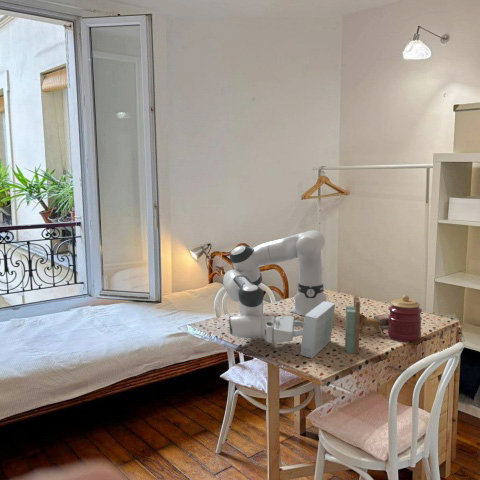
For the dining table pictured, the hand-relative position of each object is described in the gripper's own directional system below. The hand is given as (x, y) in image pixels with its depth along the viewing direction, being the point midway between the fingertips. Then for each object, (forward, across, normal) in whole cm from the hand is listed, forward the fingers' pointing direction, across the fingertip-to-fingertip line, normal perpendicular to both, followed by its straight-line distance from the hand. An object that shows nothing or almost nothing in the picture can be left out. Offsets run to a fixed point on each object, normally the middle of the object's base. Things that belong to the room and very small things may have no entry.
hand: (305, 328), depth 195 cm
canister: (+40, -16, -8) cm, 44 cm away
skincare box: (+4, 0, -8) cm, 9 cm away
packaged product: (+38, -33, -8) cm, 51 cm away
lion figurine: (+25, -19, -8) cm, 33 cm away
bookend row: (+18, 0, -8) cm, 19 cm away
